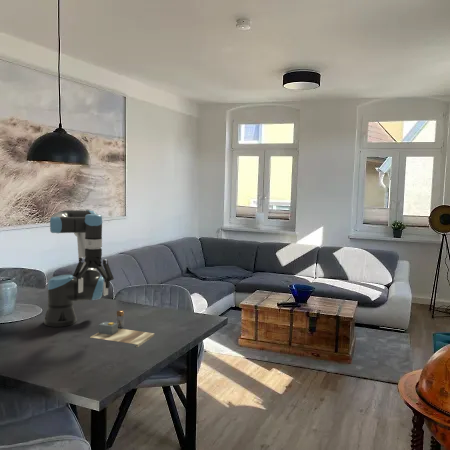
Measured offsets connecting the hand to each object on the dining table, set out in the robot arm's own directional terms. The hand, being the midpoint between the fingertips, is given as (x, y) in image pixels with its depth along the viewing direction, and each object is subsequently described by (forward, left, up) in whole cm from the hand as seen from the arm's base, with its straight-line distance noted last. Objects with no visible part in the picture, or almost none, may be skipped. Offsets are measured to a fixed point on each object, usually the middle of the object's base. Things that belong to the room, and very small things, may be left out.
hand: (93, 293), depth 214 cm
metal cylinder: (+9, +9, -18) cm, 22 cm away
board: (+16, -1, -18) cm, 25 cm away
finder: (+8, 0, -17) cm, 19 cm away
